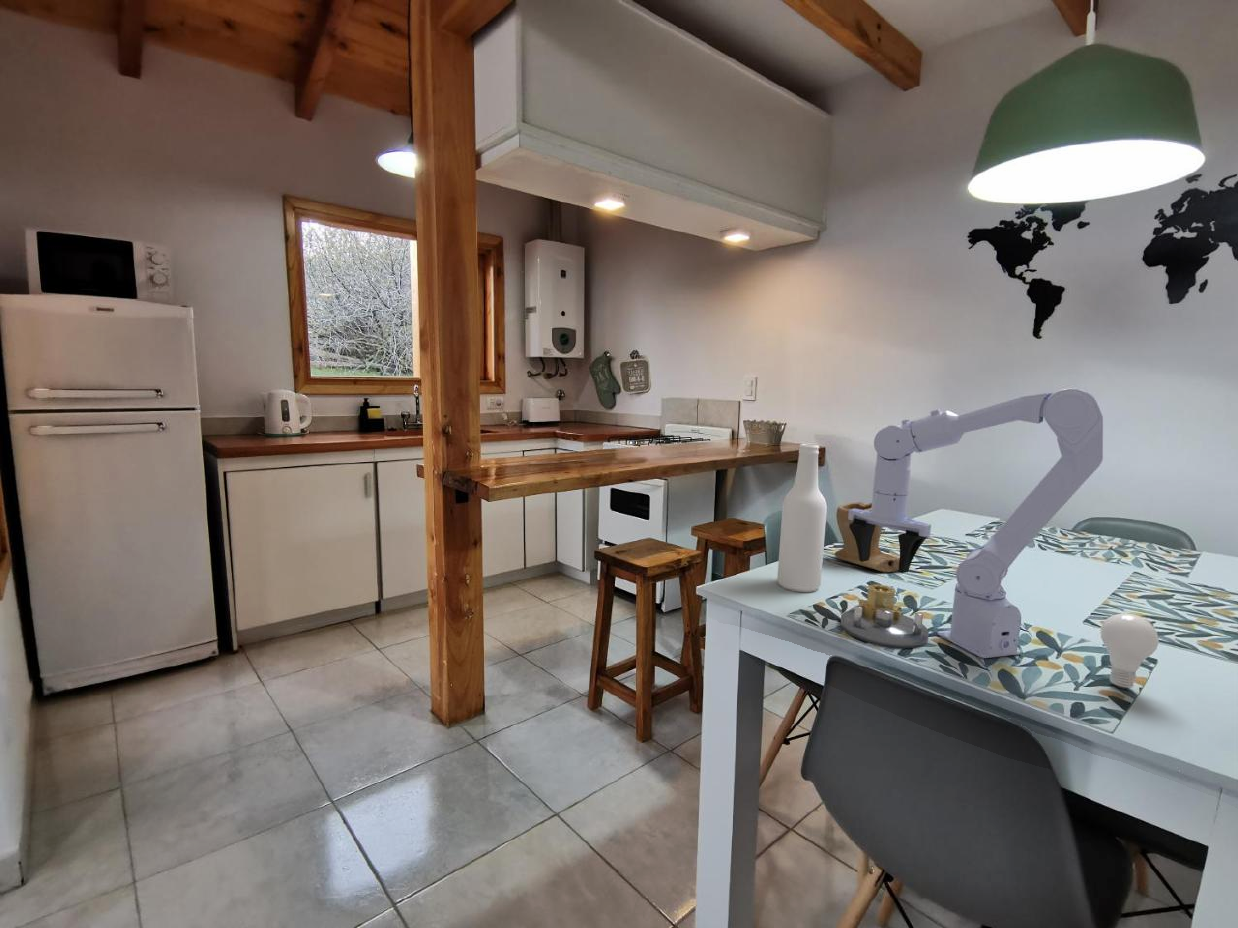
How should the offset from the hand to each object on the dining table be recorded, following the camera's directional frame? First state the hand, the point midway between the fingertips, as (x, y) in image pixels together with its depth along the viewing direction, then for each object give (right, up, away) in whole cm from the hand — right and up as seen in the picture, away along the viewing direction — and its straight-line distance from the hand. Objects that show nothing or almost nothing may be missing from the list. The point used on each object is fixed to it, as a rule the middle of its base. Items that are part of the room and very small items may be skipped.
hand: (883, 566), depth 109 cm
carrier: (-2, -11, -4) cm, 11 cm away
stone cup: (+10, -6, +34) cm, 36 cm away
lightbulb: (+25, -14, -22) cm, 36 cm away
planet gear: (0, -9, +1) cm, 9 cm away
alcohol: (-10, -7, +18) cm, 22 cm away
